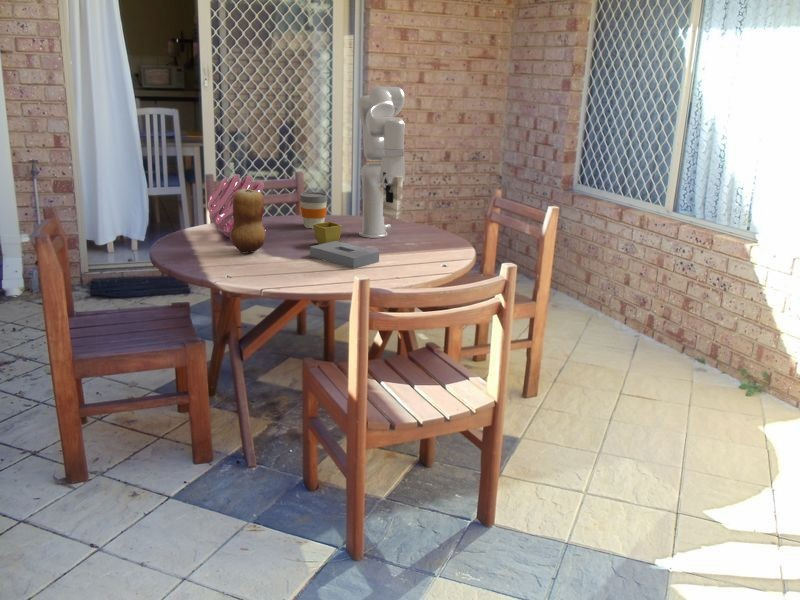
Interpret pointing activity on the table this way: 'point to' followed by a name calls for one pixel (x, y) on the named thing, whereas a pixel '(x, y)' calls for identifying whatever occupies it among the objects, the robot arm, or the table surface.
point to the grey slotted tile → (344, 254)
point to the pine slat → (394, 200)
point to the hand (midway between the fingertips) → (392, 201)
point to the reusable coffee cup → (313, 208)
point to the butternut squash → (248, 220)
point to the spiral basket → (228, 209)
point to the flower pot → (327, 232)
